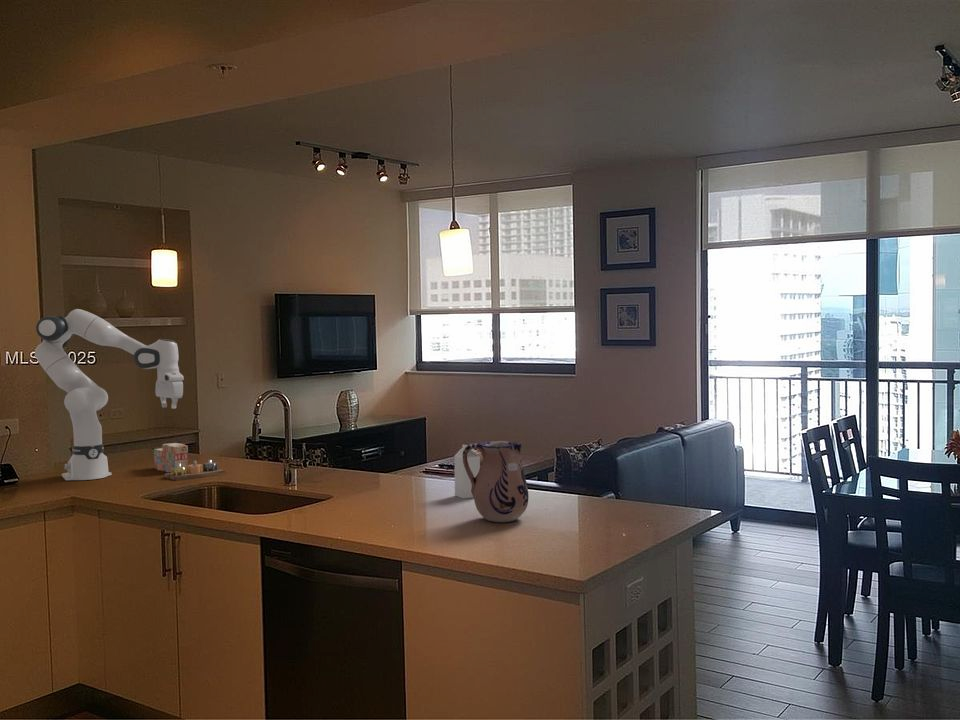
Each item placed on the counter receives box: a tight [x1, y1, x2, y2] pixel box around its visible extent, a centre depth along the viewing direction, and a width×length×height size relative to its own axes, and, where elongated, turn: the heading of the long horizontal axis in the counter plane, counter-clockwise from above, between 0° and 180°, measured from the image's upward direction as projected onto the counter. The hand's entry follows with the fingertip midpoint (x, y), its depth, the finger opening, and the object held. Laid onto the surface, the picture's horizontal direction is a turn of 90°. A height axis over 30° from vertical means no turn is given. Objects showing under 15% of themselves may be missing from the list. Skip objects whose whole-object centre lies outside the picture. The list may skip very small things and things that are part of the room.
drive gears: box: [171, 459, 219, 475], centre depth 365 cm, size 6×20×4 cm, turn 134°
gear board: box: [163, 460, 226, 481], centre depth 365 cm, size 12×22×6 cm, turn 134°
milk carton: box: [453, 444, 481, 500], centre depth 313 cm, size 7×7×19 cm
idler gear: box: [187, 463, 203, 473], centre depth 365 cm, size 6×6×3 cm
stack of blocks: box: [153, 442, 189, 473], centre depth 380 cm, size 21×6×12 cm, turn 45°
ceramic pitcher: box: [463, 440, 530, 523], centre depth 273 cm, size 18×21×25 cm
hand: (169, 407), depth 368 cm, fingers open, 8 cm apart
